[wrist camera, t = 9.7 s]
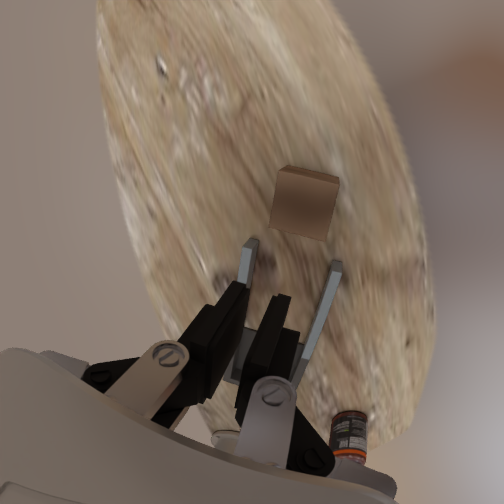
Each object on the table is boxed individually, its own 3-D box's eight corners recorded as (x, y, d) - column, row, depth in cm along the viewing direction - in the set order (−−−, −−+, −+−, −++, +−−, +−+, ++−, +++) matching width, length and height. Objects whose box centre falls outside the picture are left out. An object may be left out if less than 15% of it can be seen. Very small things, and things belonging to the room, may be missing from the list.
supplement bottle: (348, 431, 39) (341, 487, 29) (324, 419, 39) (313, 478, 29) (375, 418, 36) (372, 478, 26) (352, 405, 36) (346, 468, 26)
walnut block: (327, 225, 27) (325, 241, 23) (278, 213, 28) (268, 227, 24) (338, 177, 25) (339, 184, 21) (287, 165, 26) (278, 170, 22)
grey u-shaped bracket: (294, 388, 37) (290, 400, 35) (229, 368, 39) (223, 380, 37) (342, 262, 28) (342, 273, 26) (249, 238, 30) (242, 246, 28)
